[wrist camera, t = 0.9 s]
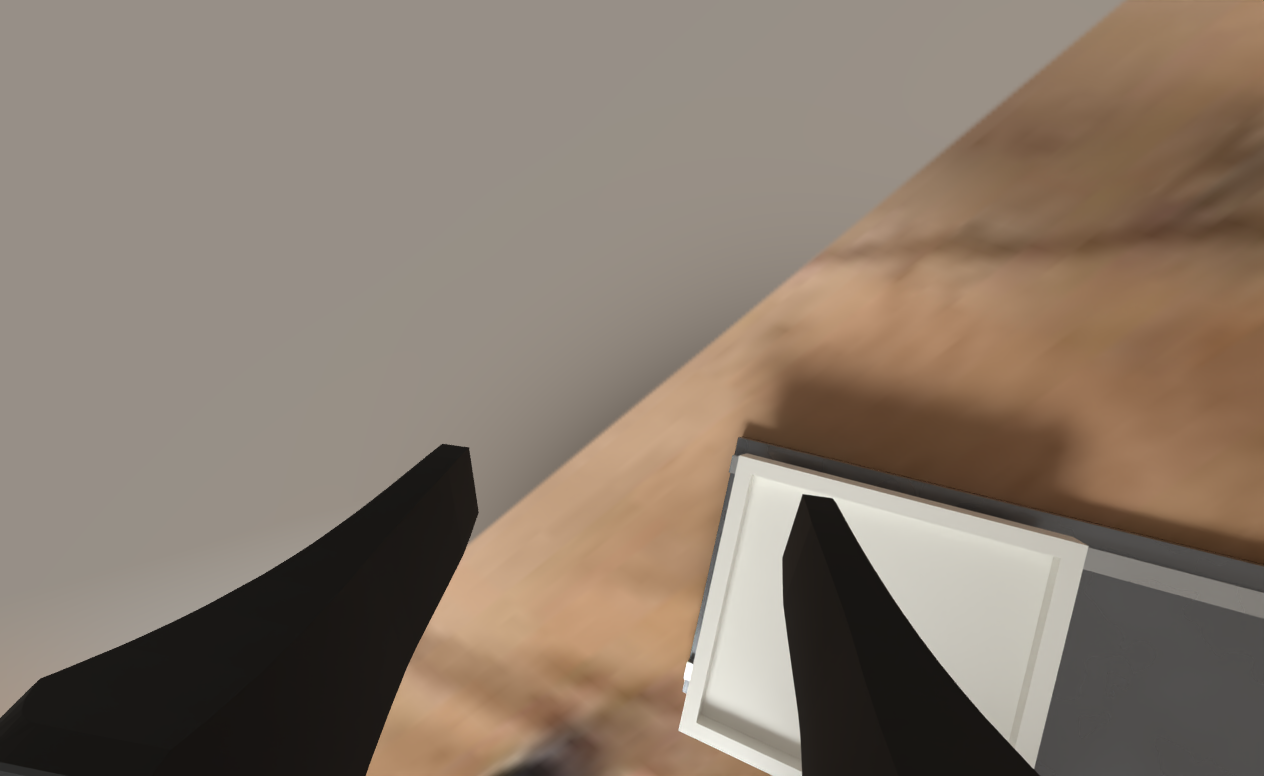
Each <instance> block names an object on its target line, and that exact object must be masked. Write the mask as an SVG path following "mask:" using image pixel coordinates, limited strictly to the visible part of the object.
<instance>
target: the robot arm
mask: <svg viewBox="0 0 1264 776" xmlns="http://www.w3.org/2000/svg"><path fill="white" fill-rule="evenodd" d="M477 515H478V506H477V499H476V493H475V485H474V478H473V472H472V465H471V458H470V452H469V448H468V447H461V446H454V445H447V444H442V445H440V446H439V447H438V448H437V449H435V450H434V451H433V452H432V453H430V454H429V455H428V456H426V457H425V458H424V459H423V460H422V461H420V462H419V463H418V464H417V465H415V466H414V467H413V468H412V469H411V470H409V471H408V472H407V473H406V474H404V475H403V476H402V477H401V478H399V479H398V480H397V481H396V482H395V483H393V484H392V485H391V486H389V487H388V488H387V489H386V490H384V491H383V492H382V493H381V494H379V495H378V496H377V497H375V498H374V499H373V500H372V501H371V502H369V503H368V504H367V505H365V506H364V507H363V508H361V509H360V510H359V511H357V512H356V513H355V514H353V515H352V516H351V517H349V518H348V519H346V520H345V521H344V522H342V523H341V524H339V525H338V526H337V527H335V528H334V529H333V530H331V531H330V532H328V533H327V534H325V535H324V536H323V537H321V538H320V539H318V540H317V541H315V542H314V543H313V544H311V545H309V546H308V547H307V548H305V549H303V550H302V551H300V552H299V553H297V554H296V555H294V556H292V557H291V558H289V559H288V560H286V561H284V562H283V563H281V564H279V565H278V566H276V567H275V568H273V569H271V570H270V571H268V572H266V573H265V574H263V575H261V576H259V577H258V578H256V579H254V580H252V581H250V582H249V583H247V584H245V585H243V586H241V587H239V588H237V589H236V590H234V591H232V592H230V593H228V594H226V595H225V596H223V597H221V598H219V599H217V600H216V601H214V602H212V603H210V604H208V605H206V606H204V607H202V608H200V609H198V610H196V611H194V612H193V613H190V614H188V615H186V616H184V617H182V618H180V619H178V620H176V621H174V622H172V623H170V624H168V625H165V626H163V627H161V628H159V629H157V630H155V631H152V632H150V633H148V634H146V635H144V636H142V637H139V638H137V639H135V640H133V641H131V642H128V643H126V644H124V645H121V646H119V647H117V648H114V649H112V650H109V651H107V652H105V653H102V654H100V655H97V656H95V657H92V658H90V659H88V660H85V661H83V662H80V663H78V664H76V665H73V666H71V667H69V668H66V669H63V670H61V671H59V672H56V673H54V674H51V675H49V676H46V677H43V678H41V679H40V680H38V681H37V683H35V684H34V685H33V686H32V687H31V688H30V689H29V690H28V691H27V692H26V693H25V694H24V695H23V696H22V697H21V698H20V699H19V700H18V701H17V702H16V703H15V704H14V705H13V706H12V707H11V708H10V709H9V710H8V711H7V712H6V713H5V714H4V715H3V716H2V717H1V718H0V776H366V773H367V770H368V767H369V764H370V762H371V759H372V756H373V754H374V751H375V748H376V746H377V743H378V740H379V738H380V735H381V732H382V730H383V727H384V724H385V722H386V719H387V716H388V714H389V711H390V709H391V706H392V703H393V701H394V698H395V696H396V693H397V691H398V688H399V686H400V683H401V681H402V678H403V676H404V673H405V671H406V668H407V666H408V664H409V662H410V660H411V657H412V655H413V653H414V651H415V649H416V647H417V645H418V643H419V641H420V639H421V637H422V635H423V633H424V631H425V629H426V627H427V625H428V623H429V621H430V619H431V617H432V616H433V614H434V612H435V610H436V608H437V606H438V604H439V602H440V600H441V598H442V596H443V594H444V592H445V590H446V588H447V586H448V584H449V582H450V580H451V578H452V576H453V574H454V572H455V570H456V568H457V566H458V564H459V562H460V560H461V558H462V556H463V554H464V552H465V549H466V546H467V544H468V541H469V538H470V536H471V533H472V530H473V527H474V524H475V521H476V518H477ZM782 582H783V607H784V615H785V623H786V630H787V638H788V645H789V652H790V659H791V667H792V674H793V681H794V688H795V695H796V702H797V710H798V718H799V729H800V740H801V762H802V776H1040V775H1039V774H1038V773H1037V772H1036V771H1035V770H1034V769H1033V768H1032V767H1031V766H1030V765H1029V764H1028V763H1027V762H1026V760H1025V759H1024V758H1023V757H1022V756H1021V755H1020V754H1019V753H1018V752H1017V751H1016V750H1015V749H1014V748H1013V746H1012V745H1011V744H1010V743H1009V742H1008V741H1007V740H1006V739H1005V738H1004V737H1003V736H1002V735H1001V734H1000V733H999V731H998V730H997V729H996V728H995V727H994V726H993V725H992V724H991V723H990V722H989V721H988V720H987V719H986V718H985V716H984V715H983V714H982V713H981V712H980V711H979V710H978V708H977V707H976V706H975V705H974V704H973V703H972V701H971V700H970V699H969V698H968V697H967V696H966V694H965V693H964V692H963V691H962V690H961V689H960V687H959V686H958V685H957V684H956V682H955V681H954V680H953V679H952V677H951V676H950V675H949V674H948V673H947V671H946V670H945V669H944V668H943V666H942V665H941V664H940V663H939V661H938V660H937V659H936V657H935V656H934V655H933V653H932V652H931V651H930V650H929V648H928V647H927V646H926V644H925V643H924V642H923V640H922V639H921V637H920V636H919V635H918V633H917V632H916V630H915V629H914V628H913V626H912V625H911V623H910V622H909V621H908V619H907V618H906V616H905V615H904V614H903V612H902V611H901V609H900V608H899V606H898V605H897V603H896V602H895V600H894V599H893V597H892V596H891V594H890V593H889V591H888V590H887V588H886V586H885V585H884V583H883V582H882V580H881V579H880V577H879V576H878V574H877V572H876V571H875V569H874V568H873V566H872V564H871V563H870V561H869V559H868V558H867V556H866V555H865V553H864V551H863V549H862V548H861V546H860V544H859V543H858V541H857V539H856V537H855V536H854V534H853V532H852V530H851V529H850V527H849V525H848V523H847V521H846V520H845V518H844V516H843V514H842V512H841V511H840V509H839V507H838V505H837V503H836V502H835V501H834V499H833V498H828V497H821V496H813V495H806V494H802V498H801V501H800V504H799V507H798V510H797V513H796V516H795V519H794V523H793V526H792V529H791V532H790V535H789V538H788V541H787V544H786V547H785V551H784V554H783V557H782Z"/></svg>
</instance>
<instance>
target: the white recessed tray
mask: <svg viewBox="0 0 1264 776" xmlns="http://www.w3.org/2000/svg"><path fill="white" fill-rule="evenodd" d="M802 494H806V495H813V496H821V497H828V498H833V499H834V501H835V502H836V503H837V505H838V507H839V509H840V511H841V512H842V514H843V516H844V518H845V520H846V521H847V523H848V525H849V527H850V529H851V530H852V532H853V534H854V536H855V537H856V539H857V541H858V543H859V544H860V546H861V548H862V549H863V551H864V553H865V555H866V556H867V558H868V559H869V561H870V563H871V564H872V566H873V568H874V569H875V571H876V572H877V574H878V576H879V577H880V579H881V580H882V582H883V583H884V585H885V586H886V588H887V590H888V591H889V593H890V594H891V596H892V597H893V599H894V600H895V602H896V603H897V605H898V606H899V608H900V609H901V611H902V612H903V614H904V615H905V616H906V618H907V619H908V621H909V622H910V623H911V625H912V626H913V628H914V629H915V630H916V632H917V633H918V635H919V636H920V637H921V639H922V640H923V642H924V643H925V644H926V646H927V647H928V648H929V650H930V651H931V652H932V653H933V655H934V656H935V657H936V659H937V660H938V661H939V663H940V664H941V665H942V666H943V668H944V669H945V670H946V671H947V673H948V674H949V675H950V676H951V677H952V679H953V680H954V681H955V682H956V684H957V685H958V686H959V687H960V689H961V690H962V691H963V692H964V693H965V694H966V696H967V697H968V698H969V699H970V700H971V701H972V703H973V704H974V705H975V706H976V707H977V708H978V710H979V711H980V712H981V713H982V714H983V715H984V716H985V718H986V719H987V720H988V721H989V722H990V723H991V724H992V725H993V726H994V727H995V728H996V729H997V730H998V731H999V733H1000V734H1001V735H1002V736H1003V737H1004V738H1005V739H1006V740H1007V741H1008V742H1009V743H1010V744H1011V745H1012V746H1013V748H1014V749H1015V750H1016V751H1017V752H1018V753H1019V754H1020V755H1021V756H1022V757H1023V758H1024V759H1025V760H1026V762H1027V763H1028V764H1029V765H1030V766H1031V767H1032V768H1033V769H1034V767H1035V763H1036V759H1037V755H1038V751H1039V747H1040V743H1041V739H1042V734H1043V730H1044V726H1045V722H1046V718H1047V714H1048V710H1049V706H1050V702H1051V698H1052V694H1053V689H1054V685H1055V681H1056V677H1057V673H1058V669H1059V665H1060V661H1061V657H1062V653H1063V648H1064V644H1065V640H1066V636H1067V632H1068V628H1069V624H1070V620H1071V616H1072V612H1073V608H1074V603H1075V599H1076V595H1077V591H1078V587H1079V583H1080V579H1081V575H1082V571H1083V567H1084V562H1085V558H1086V554H1087V550H1088V545H1086V544H1084V543H1083V542H1081V541H1079V540H1077V539H1076V538H1074V537H1072V536H1068V535H1064V534H1060V533H1056V532H1052V531H1048V530H1045V529H1041V528H1037V527H1033V526H1029V525H1025V524H1021V523H1017V522H1013V521H1009V520H1005V519H1002V518H998V517H994V516H990V515H986V514H982V513H978V512H974V511H970V510H966V509H963V508H959V507H955V506H951V505H947V504H943V503H939V502H935V501H931V500H927V499H924V498H920V497H916V496H912V495H908V494H904V493H900V492H896V491H892V490H888V489H884V488H881V487H877V486H873V485H869V484H865V483H861V482H857V481H853V480H849V479H845V478H842V477H838V476H834V475H830V474H826V473H822V472H818V471H814V470H810V469H806V468H803V467H799V466H795V465H791V464H787V463H783V462H779V461H775V460H771V459H767V458H763V457H760V456H756V455H752V454H748V453H746V454H743V455H739V459H738V464H737V468H736V473H735V477H734V482H733V486H732V491H731V495H730V500H729V504H728V509H727V513H726V518H725V522H724V527H723V532H722V536H721V541H720V545H719V550H718V554H717V559H716V563H715V568H714V572H713V577H712V581H711V586H710V590H709V595H708V600H707V604H706V609H705V613H704V618H703V622H702V627H701V631H700V636H699V640H698V645H697V649H696V654H695V658H694V663H693V667H692V672H691V677H690V681H689V686H688V690H687V695H686V699H685V704H684V708H683V713H682V717H681V722H680V726H679V731H680V732H682V733H685V734H687V735H689V736H691V737H693V738H695V739H697V740H699V741H701V742H703V743H706V744H708V745H710V746H712V747H714V748H716V749H718V750H720V751H722V752H724V753H727V754H729V755H731V756H733V757H735V758H737V759H739V760H741V761H743V762H745V763H748V764H750V765H752V766H754V767H756V768H758V769H760V770H762V771H764V772H766V773H769V774H771V775H773V776H802V762H801V740H800V729H799V718H798V710H797V702H796V695H795V688H794V681H793V674H792V667H791V659H790V652H789V645H788V638H787V630H786V623H785V615H784V607H783V582H782V557H783V554H784V551H785V547H786V544H787V541H788V538H789V535H790V532H791V529H792V526H793V523H794V519H795V516H796V513H797V510H798V507H799V504H800V501H801V498H802Z"/></svg>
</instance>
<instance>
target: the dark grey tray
mask: <svg viewBox="0 0 1264 776" xmlns="http://www.w3.org/2000/svg"><path fill="white" fill-rule="evenodd" d="M746 453H748V454H752V455H756V456H760V457H763V458H767V459H771V460H775V461H779V462H783V463H787V464H791V465H795V466H799V467H803V468H806V469H810V470H814V471H818V472H822V473H826V474H830V475H834V476H838V477H842V478H845V479H849V480H853V481H857V482H861V483H865V484H869V485H873V486H877V487H881V488H884V489H888V490H892V491H896V492H900V493H904V494H908V495H912V496H916V497H920V498H924V499H927V500H931V501H935V502H939V503H943V504H947V505H951V506H955V507H959V508H963V509H966V510H970V511H974V512H978V513H982V514H986V515H990V516H994V517H998V518H1002V519H1005V520H1009V521H1013V522H1017V523H1021V524H1025V525H1029V526H1033V527H1037V528H1041V529H1045V530H1048V531H1052V532H1056V533H1060V534H1064V535H1068V536H1072V537H1074V538H1076V539H1077V540H1079V541H1081V542H1083V543H1084V544H1086V545H1088V550H1087V554H1086V558H1085V562H1084V567H1083V571H1082V575H1081V579H1080V583H1079V587H1078V591H1077V595H1076V599H1075V603H1074V608H1073V612H1072V616H1071V620H1070V624H1069V628H1068V632H1067V636H1066V640H1065V644H1064V648H1063V653H1062V657H1061V661H1060V665H1059V669H1058V673H1057V677H1056V681H1055V685H1054V689H1053V694H1052V698H1051V702H1050V706H1049V710H1048V714H1047V718H1046V722H1045V726H1044V730H1043V734H1042V739H1041V743H1040V747H1039V751H1038V755H1037V759H1036V763H1035V767H1034V770H1035V771H1036V772H1037V773H1038V774H1039V775H1040V776H1264V565H1263V564H1259V563H1255V562H1251V561H1247V560H1243V559H1239V558H1235V557H1231V556H1227V555H1222V554H1218V553H1214V552H1210V551H1206V550H1202V549H1198V548H1194V547H1190V546H1186V545H1182V544H1178V543H1174V542H1169V541H1165V540H1161V539H1157V538H1153V537H1149V536H1145V535H1141V534H1137V533H1133V532H1129V531H1125V530H1121V529H1116V528H1112V527H1108V526H1104V525H1100V524H1096V523H1092V522H1088V521H1084V520H1080V519H1076V518H1072V517H1068V516H1063V515H1059V514H1055V513H1051V512H1047V511H1043V510H1039V509H1035V508H1031V507H1027V506H1023V505H1019V504H1015V503H1010V502H1006V501H1002V500H998V499H994V498H990V497H986V496H982V495H978V494H974V493H970V492H966V491H962V490H957V489H953V488H949V487H945V486H941V485H937V484H933V483H929V482H925V481H921V480H917V479H913V478H909V477H904V476H900V475H896V474H892V473H888V472H884V471H880V470H876V469H872V468H868V467H864V466H860V465H855V464H851V463H847V462H843V461H839V460H835V459H831V458H827V457H823V456H819V455H815V454H811V453H807V452H802V451H798V450H794V449H790V448H786V447H782V446H778V445H774V444H770V443H766V442H762V441H758V440H754V439H749V438H745V437H738V442H737V446H736V451H735V454H734V455H733V456H732V460H731V465H730V469H729V473H730V478H729V482H728V487H727V492H726V496H725V501H724V505H723V510H722V514H721V519H720V523H719V528H718V532H717V537H716V541H715V546H714V550H713V555H712V560H711V564H710V569H709V573H708V578H707V582H706V587H705V591H704V596H703V600H702V605H701V609H700V614H699V619H698V623H697V628H696V632H695V637H694V641H693V646H692V650H691V655H690V659H689V660H688V661H687V665H686V669H685V674H684V678H683V679H685V682H684V687H683V691H682V692H684V693H687V690H688V686H689V681H690V677H691V672H692V667H693V663H694V658H695V654H696V649H697V645H698V640H699V636H700V631H701V627H702V622H703V618H704V613H705V609H706V604H707V600H708V595H709V590H710V586H711V581H712V577H713V572H714V568H715V563H716V559H717V554H718V550H719V545H720V541H721V536H722V532H723V527H724V522H725V518H726V513H727V509H728V504H729V500H730V495H731V491H732V486H733V482H734V477H735V473H736V468H737V464H738V459H739V455H743V454H746Z"/></svg>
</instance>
